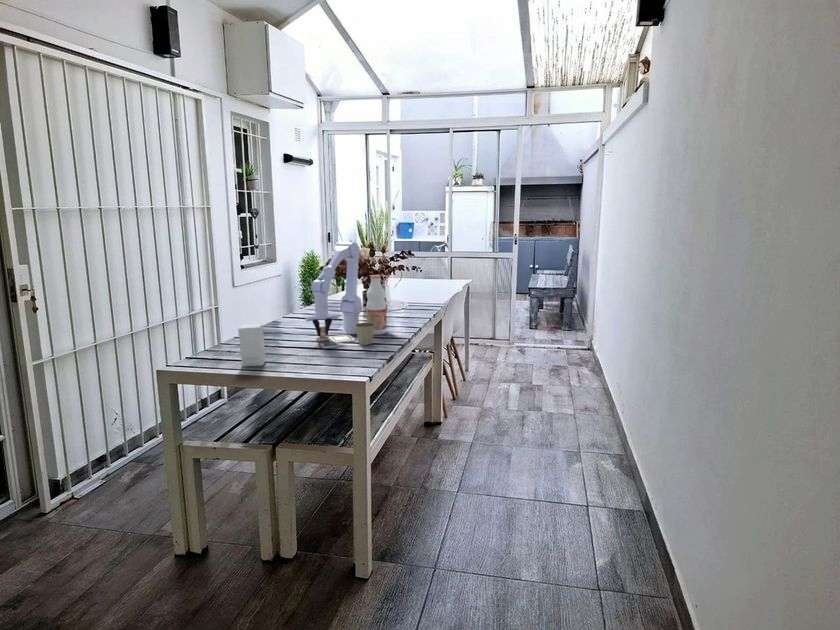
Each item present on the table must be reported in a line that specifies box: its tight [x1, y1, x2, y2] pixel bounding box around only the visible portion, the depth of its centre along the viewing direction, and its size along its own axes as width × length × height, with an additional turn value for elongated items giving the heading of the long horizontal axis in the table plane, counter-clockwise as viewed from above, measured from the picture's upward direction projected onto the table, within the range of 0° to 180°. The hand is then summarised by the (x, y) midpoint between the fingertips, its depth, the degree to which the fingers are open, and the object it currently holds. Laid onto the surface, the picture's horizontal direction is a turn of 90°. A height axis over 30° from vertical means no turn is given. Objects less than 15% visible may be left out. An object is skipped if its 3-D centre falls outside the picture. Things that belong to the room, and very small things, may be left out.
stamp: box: [316, 325, 331, 344], centre depth 258 cm, size 5×5×7 cm
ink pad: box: [320, 341, 339, 349], centre depth 251 cm, size 7×7×1 cm
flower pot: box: [354, 322, 376, 346], centre depth 254 cm, size 9×9×9 cm
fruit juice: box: [366, 274, 388, 336], centre depth 272 cm, size 9×9×28 cm
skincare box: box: [237, 323, 267, 367], centre depth 222 cm, size 8×7×16 cm
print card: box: [328, 334, 357, 344], centre depth 262 cm, size 11×10×1 cm
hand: (322, 335), depth 258 cm, fingers closed on stamp, 3 cm apart
